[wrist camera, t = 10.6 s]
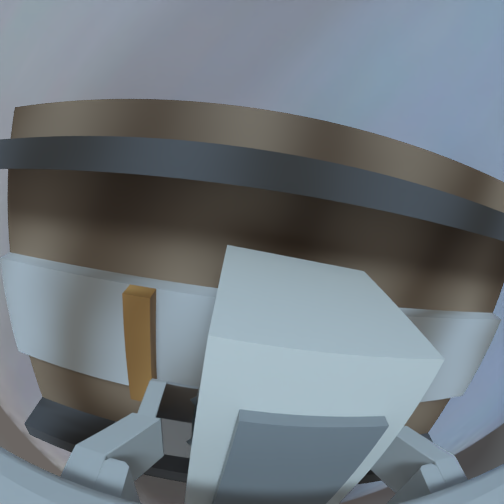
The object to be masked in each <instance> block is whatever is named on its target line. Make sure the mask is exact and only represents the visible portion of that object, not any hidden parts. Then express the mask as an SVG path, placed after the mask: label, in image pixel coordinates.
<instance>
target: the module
mask: <svg viewBox="0 0 504 504" xmlns="http://www.w3.org/2000/svg"><path fill="white" fill-rule="evenodd" d="M444 360H445V359H444V358H443V357H442V356H441V354H440V353H439V352H438V351H437V350H436V349H435V347H434V346H433V345H432V344H431V343H430V342H429V341H428V339H427V338H426V337H425V336H424V335H423V334H422V333H421V332H420V330H419V329H418V328H417V327H416V326H415V325H414V324H413V323H412V322H411V320H410V319H409V318H408V317H407V316H406V315H405V314H404V313H403V312H402V311H401V310H400V308H399V307H398V306H397V305H396V304H395V303H394V302H393V301H392V300H391V299H390V298H389V297H388V296H387V295H386V293H385V292H384V291H383V290H382V289H381V288H380V287H379V286H378V285H377V284H376V283H375V282H374V281H373V280H372V279H371V278H370V277H369V276H368V275H367V274H366V273H365V272H364V271H360V270H355V269H350V268H345V267H340V266H334V265H329V264H324V263H319V262H314V261H309V260H304V259H298V258H293V257H288V256H283V255H278V254H273V253H267V252H262V251H257V250H252V249H247V248H241V247H236V246H231V245H227V248H226V253H225V257H224V262H223V266H222V271H221V276H220V281H219V285H218V290H217V295H216V300H215V304H214V309H213V314H212V319H211V324H210V329H209V334H208V340H207V346H206V352H205V358H204V364H203V371H202V377H201V384H200V390H199V397H198V404H197V410H196V417H195V424H194V431H193V439H192V446H191V453H190V461H189V469H188V476H187V485H186V493H185V501H184V504H339V503H340V502H341V501H342V500H343V499H344V498H345V497H346V496H347V495H348V493H349V492H350V491H351V490H352V489H353V488H354V487H355V486H356V485H357V484H358V483H359V482H360V480H361V479H362V478H363V477H364V476H365V475H366V474H367V472H368V471H369V470H370V469H371V468H372V467H373V465H374V464H375V463H376V462H377V461H378V459H379V458H380V457H381V456H382V454H383V453H384V452H385V451H386V449H387V448H388V447H389V445H390V444H391V443H392V441H393V440H394V439H395V437H396V436H397V435H398V433H399V432H400V431H401V429H402V428H403V426H404V425H405V424H406V422H407V421H408V419H409V418H410V416H411V415H412V413H413V412H414V410H415V409H416V407H417V406H418V404H419V403H420V401H421V399H422V398H423V396H424V395H425V393H426V391H427V390H428V388H429V386H430V385H431V383H432V381H433V380H434V378H435V376H436V374H437V373H438V371H439V369H440V367H441V365H442V364H443V362H444Z"/></svg>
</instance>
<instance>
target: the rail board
mask: <svg viewBox="0 0 504 504" xmlns="http://www.w3.org/2000/svg"><path fill="white" fill-rule="evenodd" d="M0 169H8V228H9V243H10V253H8V254H6V255H4V256H2V257H0V262H1V270H2V277H3V284H4V290H5V296H6V301H7V306H8V311H9V316H10V320H11V324H12V329H13V333H14V337H15V340H16V344H17V348H18V351H19V352H22V353H24V354H27V355H29V356H30V360H31V363H32V366H33V370H34V373H35V376H36V379H37V382H38V385H39V388H40V391H41V394H42V399H41V400H40V401H39V403H38V404H37V406H36V407H35V409H34V410H33V412H32V413H31V415H30V416H29V418H28V419H27V421H26V422H25V426H26V428H27V430H28V432H29V434H30V435H32V436H34V437H36V438H39V439H41V440H43V441H45V442H48V443H50V444H52V445H55V446H57V447H59V448H62V449H64V450H67V451H70V452H72V451H73V449H74V447H75V445H76V444H78V443H80V442H82V441H84V440H86V439H87V438H89V437H91V436H93V435H95V434H96V433H98V432H100V431H102V430H103V429H105V428H107V427H109V426H110V425H112V424H114V423H116V422H117V421H119V420H121V419H122V418H124V417H126V416H128V415H129V414H131V413H138V410H139V407H140V405H141V402H142V399H143V397H144V394H145V392H146V389H147V386H148V384H149V381H150V380H151V379H152V378H154V379H158V380H163V381H167V382H168V381H169V382H174V383H179V384H184V385H190V386H196V387H199V390H200V384H201V377H202V371H203V364H204V358H205V352H206V346H207V340H208V334H209V329H210V324H211V319H212V314H213V309H214V304H215V300H216V295H217V290H218V285H219V281H220V276H221V271H222V266H223V262H224V257H225V253H226V248H227V245H231V246H236V247H241V248H247V249H252V250H257V251H262V252H267V253H273V254H278V255H283V256H288V257H293V258H298V259H304V260H309V261H314V262H319V263H324V264H329V265H334V266H340V267H345V268H350V269H355V270H360V271H364V272H365V273H366V274H367V275H368V276H369V277H370V278H371V279H372V280H373V281H374V282H375V283H376V284H377V285H378V286H379V287H380V288H381V289H382V290H383V291H384V292H385V293H386V295H387V296H388V297H389V298H390V299H391V300H392V301H393V302H394V303H395V304H396V305H397V306H398V307H399V308H400V310H401V311H402V312H403V313H404V314H405V315H406V316H407V317H408V318H409V319H410V320H411V322H412V323H413V324H414V325H415V326H416V327H417V328H418V329H419V330H420V332H421V333H422V334H423V335H424V336H425V337H426V338H427V339H428V341H429V342H430V343H431V344H432V345H433V346H434V347H435V349H436V350H437V351H438V352H439V353H440V354H441V356H442V357H443V358H444V359H445V360H444V362H443V364H442V365H441V367H440V369H439V371H438V373H437V374H436V376H435V378H434V380H433V381H432V383H431V385H430V386H429V388H428V390H427V391H426V393H425V395H424V396H423V398H422V399H421V401H420V403H419V404H418V406H417V407H416V409H415V410H414V412H413V413H412V415H411V416H410V418H409V419H408V421H407V422H406V424H405V425H404V426H408V427H409V428H411V429H412V430H414V431H416V432H417V433H419V434H420V435H422V436H423V437H425V438H427V439H428V440H430V441H431V442H433V441H432V440H431V438H430V436H429V434H428V432H429V430H430V429H431V428H432V426H433V425H434V423H435V422H436V420H437V419H438V417H439V416H440V414H441V412H442V411H443V409H444V408H445V406H446V405H447V403H448V401H449V400H450V398H453V397H458V396H463V394H464V393H465V391H466V389H467V388H468V386H469V384H470V382H471V381H472V379H473V377H474V375H475V373H476V372H477V370H478V368H479V366H480V364H481V362H482V360H483V358H484V356H485V354H486V352H487V350H488V348H489V346H490V344H491V342H492V339H493V337H494V335H495V333H496V330H497V328H498V326H499V323H500V321H501V319H500V318H499V317H497V316H496V315H495V314H493V311H494V308H495V305H496V303H497V300H498V297H499V295H500V292H501V289H502V286H503V283H504V182H502V181H500V180H498V179H496V178H494V177H492V176H489V175H487V174H485V173H483V172H481V171H478V170H476V169H474V168H471V167H469V166H467V165H464V164H462V163H459V162H457V161H454V160H452V159H449V158H447V157H444V156H441V155H439V154H436V153H433V152H430V151H428V150H425V149H422V148H419V147H416V146H413V145H410V144H407V143H404V142H401V141H398V140H395V139H391V138H388V137H385V136H381V135H378V134H374V133H371V132H367V131H363V130H360V129H356V128H352V127H348V126H344V125H340V124H336V123H331V122H327V121H323V120H318V119H313V118H308V117H303V116H298V115H293V114H288V113H282V112H276V111H270V110H264V109H257V108H250V107H242V106H234V105H226V104H216V103H206V102H193V101H178V100H156V99H102V100H80V101H66V102H55V103H45V104H36V105H29V106H21V107H15V110H14V117H13V124H12V132H11V139H2V140H0ZM189 461H190V458H186V457H179V456H172V455H166V454H164V456H163V457H162V458H160V459H159V460H158V461H157V462H156V463H155V464H154V465H153V466H151V467H150V468H149V469H148V470H147V471H146V472H145V473H143V474H145V475H150V476H154V477H159V478H164V479H169V480H175V481H181V482H187V476H188V469H189ZM375 481H381V479H380V478H379V477H378V476H377V475H376V474H375V473H374V472H373V471H372V470H369V471H368V472H367V474H366V475H365V476H364V477H363V478H362V479H361V480H360V482H359V483H358V484H362V483H369V482H375Z"/></svg>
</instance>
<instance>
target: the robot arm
mask: <svg viewBox="0 0 504 504" xmlns="http://www.w3.org/2000/svg"><path fill="white" fill-rule="evenodd" d="M198 397H199V387H196V386H190V385H184V384H179V383H174V382H169V381H168V382H167V381H163V380H158V379H154V378H152V379H151V380H150V381H149V384H148V386H147V389H146V392H145V394H144V397H143V399H142V402H141V405H140V407H139V410H138V413H131V414H129V415H128V416H126V417H124V418H122V419H121V420H119V421H117V422H116V423H114V424H112V425H110V426H109V427H107V428H105V429H103V430H102V431H100V432H98V433H96V434H95V435H93V436H91V437H89V438H87V439H86V440H84V441H82V442H80V443H78V444H76V445H75V447H74V449H73V451H72V453H71V455H70V457H69V459H68V461H67V464H66V466H65V468H64V470H63V472H62V474H61V477H59V476H57V475H55V474H53V473H50V472H48V471H46V470H44V469H41V468H39V467H37V466H35V465H33V464H31V463H29V462H27V461H25V460H23V459H21V458H20V457H18V456H16V455H14V454H12V453H10V452H9V451H7V450H5V449H4V448H2V447H0V504H141V503H140V500H139V497H138V494H137V491H136V488H135V485H134V481H135V480H136V479H138V478H139V477H140V476H141V475H142V474H143V473H145V472H146V471H147V470H148V469H149V468H150V467H151V466H153V465H154V464H155V463H156V462H157V461H158V460H159V459H160V458H162V457H163V456H164V454H166V455H172V456H179V457H186V458H190V453H191V446H192V439H193V431H194V424H195V417H196V410H197V404H198ZM370 470H372V471H373V472H374V473H375V474H376V475H377V476H378V477H379V478H380V479H381V480H382V481H383V482H384V483H385V484H386V485H387V486H388V487H389V488H391V489H392V490H393V491H394V492H395V493H396V494H395V496H393V497H392V498H391V499H390V500H389V501H388V503H387V504H504V464H502V465H500V466H498V467H496V468H494V469H492V470H490V471H488V472H486V473H483V474H481V475H479V476H477V477H474V478H472V479H470V480H468V479H467V477H466V475H465V474H464V472H463V470H462V468H461V467H460V465H459V463H458V461H457V459H456V457H455V456H454V455H452V454H451V453H449V452H447V451H446V450H444V449H443V448H441V447H439V446H438V445H436V444H435V443H433V442H431V441H430V440H428V439H427V438H425V437H423V436H422V435H420V434H419V433H417V432H416V431H414V430H412V429H411V428H409V427H408V426H403V428H402V429H401V431H400V432H399V433H398V435H397V436H396V437H395V439H394V440H393V441H392V443H391V444H390V445H389V447H388V448H387V449H386V451H385V452H384V453H383V454H382V456H381V457H380V458H379V459H378V461H377V462H376V463H375V464H374V465H373V467H372V468H371V469H370Z"/></svg>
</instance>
